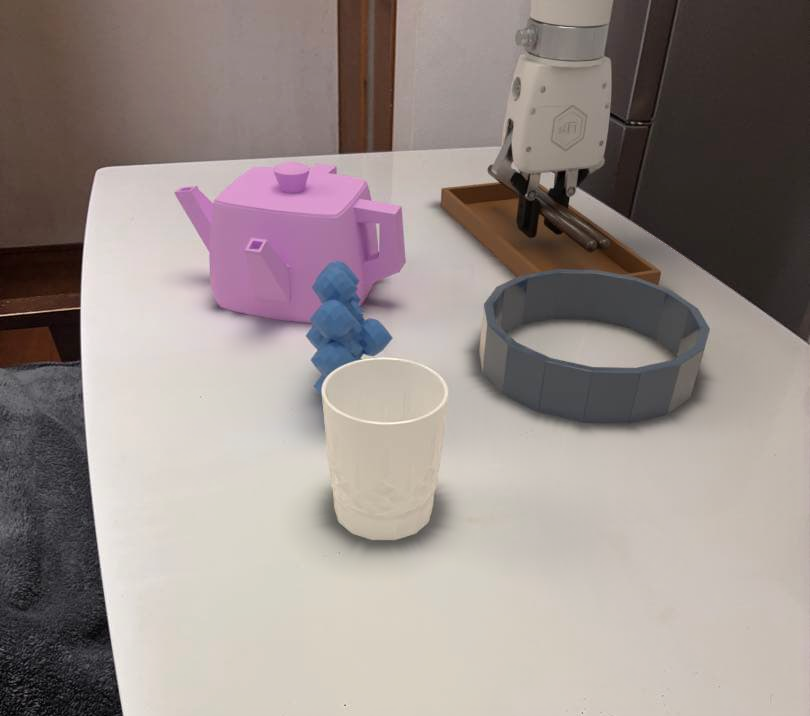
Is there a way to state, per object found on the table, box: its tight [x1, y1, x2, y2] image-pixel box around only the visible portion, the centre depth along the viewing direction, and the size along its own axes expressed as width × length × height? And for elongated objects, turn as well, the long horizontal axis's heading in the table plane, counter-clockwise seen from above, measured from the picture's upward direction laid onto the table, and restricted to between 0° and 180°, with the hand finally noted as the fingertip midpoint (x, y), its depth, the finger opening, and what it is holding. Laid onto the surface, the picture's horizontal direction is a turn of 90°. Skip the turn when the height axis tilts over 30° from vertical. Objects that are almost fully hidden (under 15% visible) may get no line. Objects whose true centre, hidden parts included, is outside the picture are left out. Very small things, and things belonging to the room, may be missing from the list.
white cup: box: [321, 356, 450, 541], centre depth 56 cm, size 8×8×10 cm
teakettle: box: [174, 161, 407, 324], centre depth 81 cm, size 17×17×12 cm
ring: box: [478, 269, 711, 424], centre depth 74 cm, size 19×19×5 cm
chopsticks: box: [486, 163, 610, 252], centre depth 92 cm, size 3×24×1 cm, turn 21°
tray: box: [440, 181, 662, 286], centre depth 94 cm, size 28×12×2 cm, turn 21°
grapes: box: [305, 261, 393, 397], centre depth 66 cm, size 12×7×12 cm, turn 0°
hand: (539, 230), depth 94 cm, fingers closed on chopsticks, 2 cm apart
